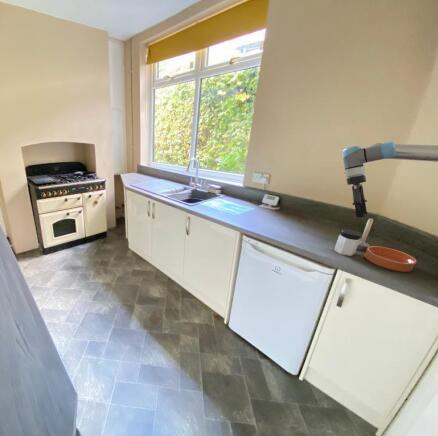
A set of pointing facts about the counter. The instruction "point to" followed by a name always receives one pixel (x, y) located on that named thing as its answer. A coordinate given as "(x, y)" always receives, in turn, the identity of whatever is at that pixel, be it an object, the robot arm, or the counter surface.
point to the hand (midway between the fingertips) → (362, 215)
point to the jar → (347, 242)
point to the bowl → (390, 258)
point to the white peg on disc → (365, 236)
